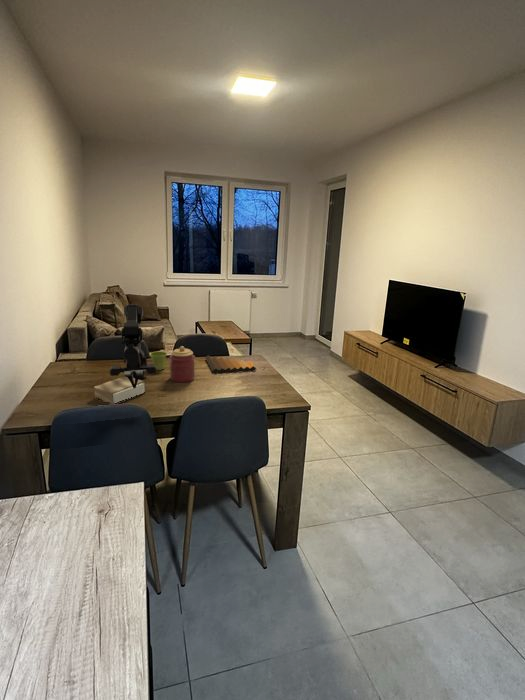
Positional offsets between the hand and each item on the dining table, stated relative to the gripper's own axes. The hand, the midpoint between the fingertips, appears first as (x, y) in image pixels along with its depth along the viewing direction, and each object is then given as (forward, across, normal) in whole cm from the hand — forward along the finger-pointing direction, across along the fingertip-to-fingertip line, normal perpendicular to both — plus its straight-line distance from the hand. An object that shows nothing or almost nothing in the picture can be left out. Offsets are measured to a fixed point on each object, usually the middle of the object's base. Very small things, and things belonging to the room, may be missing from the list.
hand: (134, 388), depth 175 cm
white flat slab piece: (+8, +3, -7) cm, 11 cm away
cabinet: (+8, +7, -12) cm, 16 cm away
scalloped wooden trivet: (+9, -51, -48) cm, 71 cm away
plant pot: (+8, -11, -48) cm, 49 cm away
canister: (+8, -23, -30) cm, 38 cm away
